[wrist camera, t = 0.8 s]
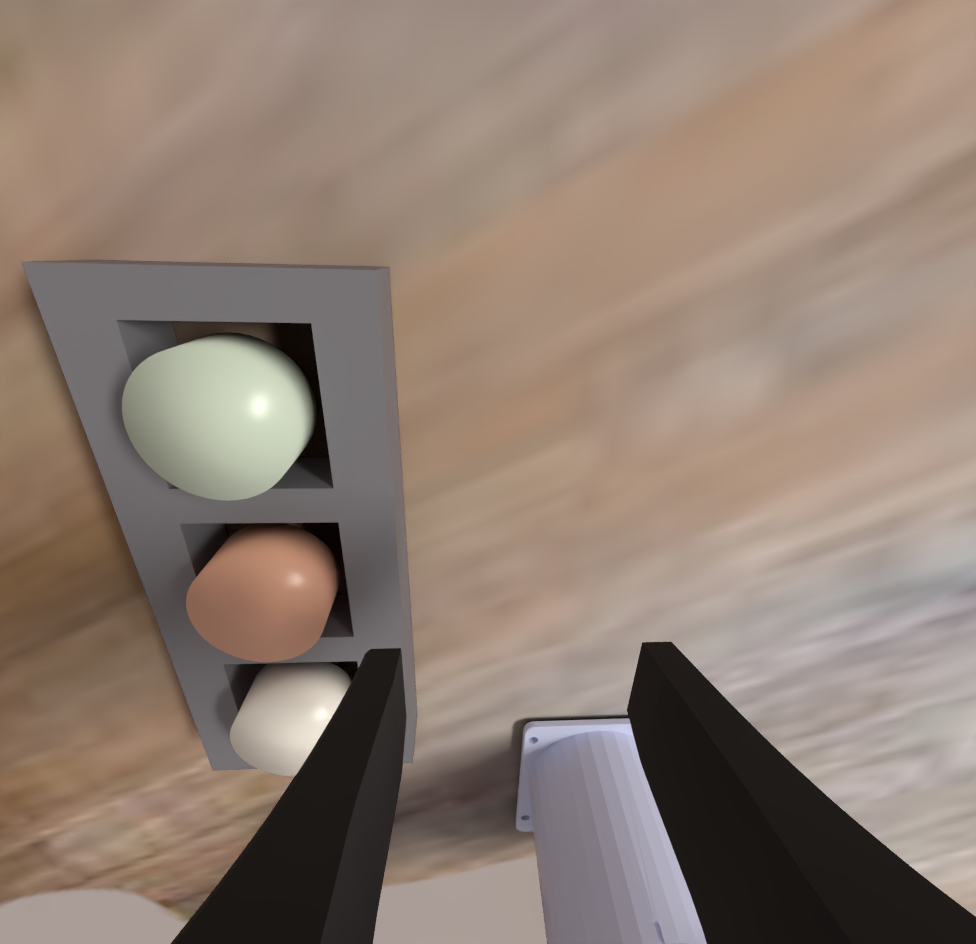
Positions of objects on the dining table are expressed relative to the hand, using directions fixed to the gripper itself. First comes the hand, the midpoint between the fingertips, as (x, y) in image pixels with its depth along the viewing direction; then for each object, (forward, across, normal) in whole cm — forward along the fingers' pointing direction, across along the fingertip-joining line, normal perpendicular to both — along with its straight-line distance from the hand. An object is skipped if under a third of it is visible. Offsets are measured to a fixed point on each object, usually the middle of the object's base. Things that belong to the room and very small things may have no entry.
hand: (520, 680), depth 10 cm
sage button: (+8, +8, -3) cm, 12 cm away
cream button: (+8, +8, +9) cm, 15 cm away
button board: (+9, +8, +3) cm, 13 cm away
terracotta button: (+8, +8, +3) cm, 11 cm away
